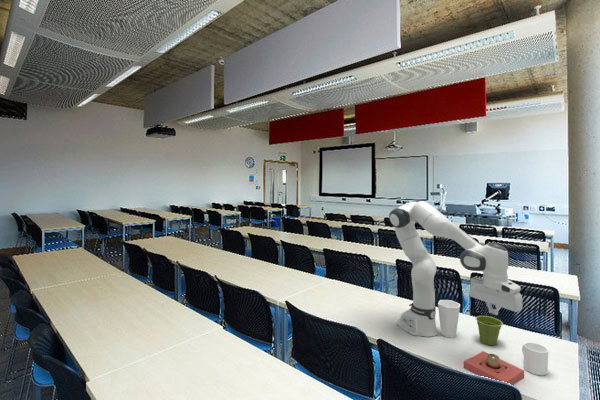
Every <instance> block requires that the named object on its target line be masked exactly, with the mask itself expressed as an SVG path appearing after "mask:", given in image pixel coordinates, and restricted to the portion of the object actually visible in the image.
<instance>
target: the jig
mask: <svg viewBox="0 0 600 400" xmlns="http://www.w3.org/2000/svg"><path fill="white" fill-rule="evenodd" d="M488 354H489V353H488V352H486V351H481V352H479V353H477V354H475V355H473V356H471V357H469V358H467V359H465V360H463V369H466V370H467V371H469V372H470V373H473V374H475V375H477V376H478V375H480V376H484V377H488V378H491V379H495V380H499V381H504V382H507V383H510V384H512V385H511V386H513V385H514V384H516V383H517V382H519V381H521V380H523V379H524V378H525V369H522V368H520V367H518V366H516V365H513V364H511V363H509V362H507V361H504V360H503V359H501V358H499V369H492V368H490V367H488V366H487V355H488ZM480 376H479V377H480Z"/></svg>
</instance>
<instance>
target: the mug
mask: <svg viewBox="0 0 600 400" xmlns="http://www.w3.org/2000/svg"><path fill="white" fill-rule="evenodd" d="M521 353H522V355H523V368H524V370H525V371H527V372H528V373H531V374H533V375H536V376H546V375H547V374H548V370H549V367H548V365H549V349H548V348H547V347H546V346H545V345H543V344H540V343H538V342H537V343H536V342H524V344H522V347H521Z"/></svg>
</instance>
